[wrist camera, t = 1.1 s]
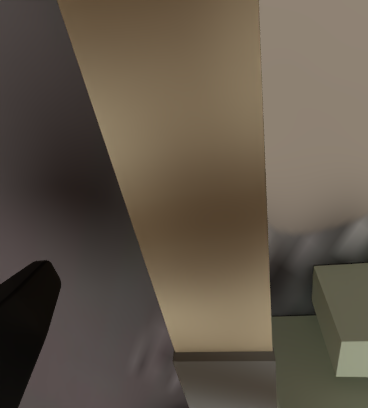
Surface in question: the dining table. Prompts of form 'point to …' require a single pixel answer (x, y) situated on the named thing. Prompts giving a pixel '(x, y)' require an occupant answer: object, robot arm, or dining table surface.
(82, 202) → the dining table surface
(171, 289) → the rail
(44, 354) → the dining table surface
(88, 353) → the dining table surface
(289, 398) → the grey block
